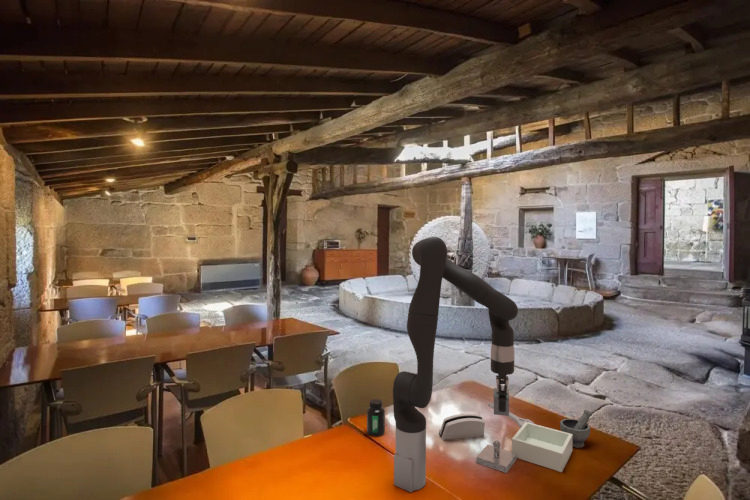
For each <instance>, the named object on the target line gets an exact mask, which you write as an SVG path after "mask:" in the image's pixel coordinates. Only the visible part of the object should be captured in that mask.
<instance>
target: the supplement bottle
mask: <svg viewBox="0 0 750 500" xmlns="http://www.w3.org/2000/svg"><path fill="white" fill-rule="evenodd" d="M385 426H386V411H385V408H384V407H383V400H382V399H379V398H372V399H371V400H369V407H368V408H367V410H366V432H367V434H368V435H369V436H371V437H381V436H383V435H384V434H385V431H386V427H385Z"/></svg>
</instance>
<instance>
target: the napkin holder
mask: <svg viewBox="0 0 750 500" xmlns="http://www.w3.org/2000/svg"><path fill="white" fill-rule="evenodd" d="M438 435H440V436H441V437H440V439H441V440H443V441H447V440H456V439H466V438H476V437H484V436H485V420H484V419H483V417H482V416H481V415H480V414H476V413H460V414H459V413H457V414H453V415H451V416H448V417H447V416H446V417H445V418H444V419H443V422H442V425H441V428H440V429H439V430H438Z"/></svg>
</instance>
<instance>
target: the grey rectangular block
mask: <svg viewBox="0 0 750 500" xmlns="http://www.w3.org/2000/svg"><path fill="white" fill-rule="evenodd" d="M500 397H505V395H500ZM493 403H494V409H493V415H497V416H506V417H507V416H509V412H510V391H509V389H508V393H507V400H506V411H505V412H500V411H499V400H498V392H497V387H494V388H493Z"/></svg>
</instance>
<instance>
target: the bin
mask: <svg viewBox="0 0 750 500" xmlns="http://www.w3.org/2000/svg"><path fill="white" fill-rule="evenodd" d="M572 446H573V434H570V433H566V432H562V431H561V430H558V429H555V428H551V427H546V426H543V425H539V424H535V423H534V424H532V423H529V422H525V423H524V425H523V426H522V427H521V428H520V427H519V429H518V431H516V433H515V434H514V436H513V437H512V438H511V452H513V453H516V454H517V459H519V460H523V461H526V462H529V463H532V464H534V465H538V466H541V467H544V468H547V469H550V470H554V471H556V472H559V473H563V471H564V469H565V467H566V465H567V463H568V461H569V459H570V457H571V455H572V452H573V447H572Z"/></svg>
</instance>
